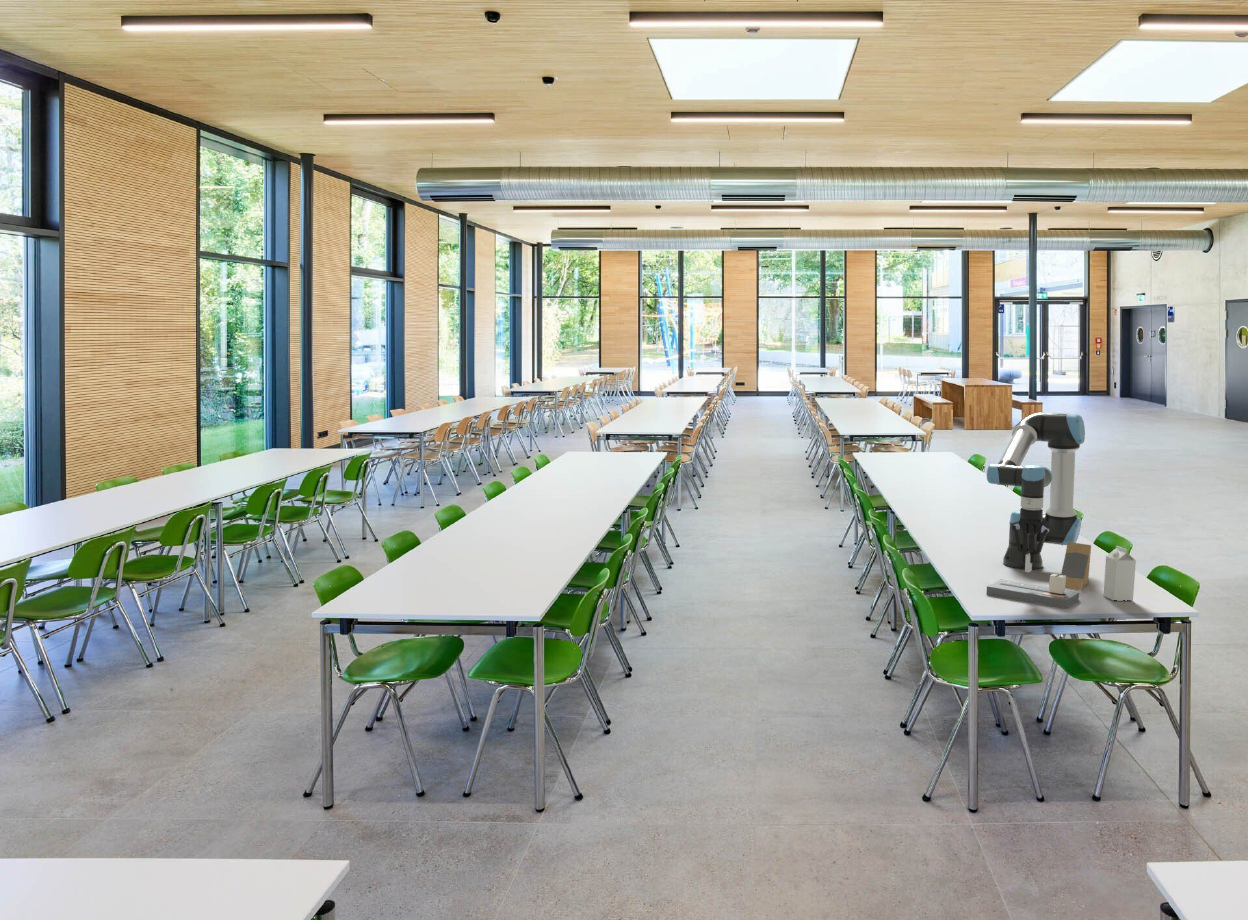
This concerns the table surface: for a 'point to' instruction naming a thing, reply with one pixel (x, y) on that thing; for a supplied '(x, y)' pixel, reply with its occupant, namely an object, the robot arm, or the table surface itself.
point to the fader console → (1032, 593)
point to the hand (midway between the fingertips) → (1028, 571)
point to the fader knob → (1057, 583)
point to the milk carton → (1119, 575)
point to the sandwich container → (1076, 565)
